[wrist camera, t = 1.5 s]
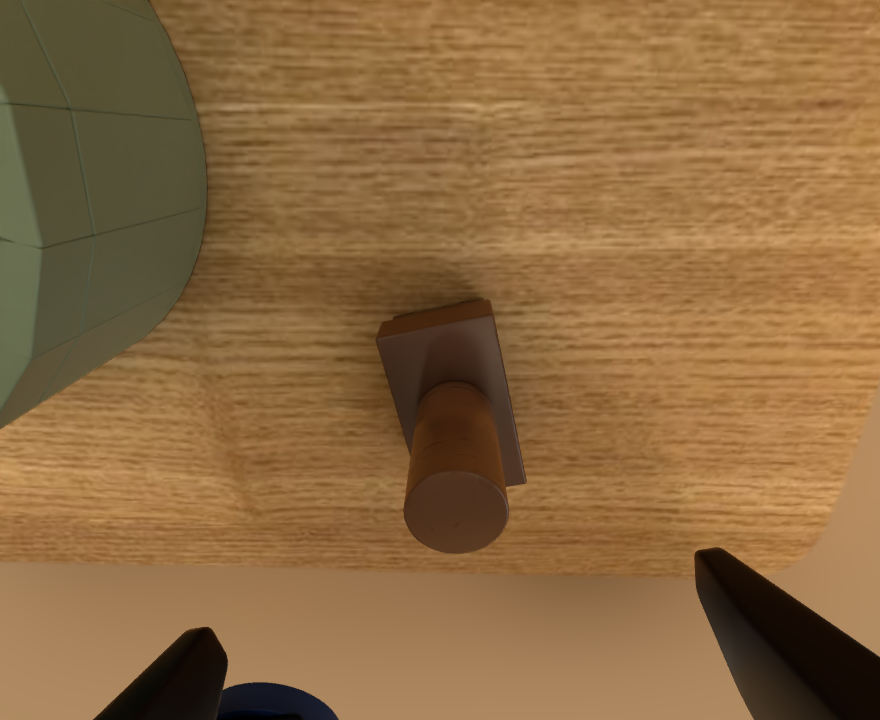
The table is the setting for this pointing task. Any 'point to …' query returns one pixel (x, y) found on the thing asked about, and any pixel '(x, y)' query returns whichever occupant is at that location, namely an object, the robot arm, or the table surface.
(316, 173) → the table surface
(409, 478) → the stamp
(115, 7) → the bowl
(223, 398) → the table surface
